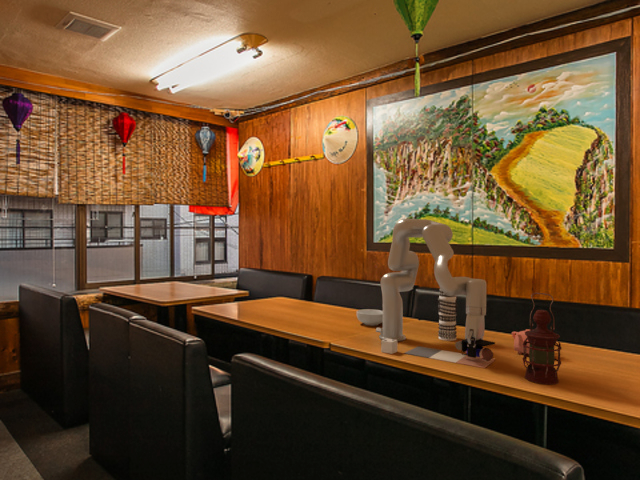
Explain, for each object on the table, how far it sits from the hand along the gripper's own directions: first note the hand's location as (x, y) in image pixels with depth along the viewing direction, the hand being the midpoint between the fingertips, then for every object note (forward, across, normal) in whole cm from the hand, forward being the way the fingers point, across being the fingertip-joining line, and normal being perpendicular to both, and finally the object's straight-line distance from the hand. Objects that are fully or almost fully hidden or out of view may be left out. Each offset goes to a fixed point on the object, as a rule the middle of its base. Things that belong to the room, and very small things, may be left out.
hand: (475, 354), depth 174 cm
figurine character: (+1, 0, 0) cm, 1 cm away
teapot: (+3, -25, +14) cm, 29 cm away
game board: (+3, 0, -11) cm, 11 cm away
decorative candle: (+3, -30, -23) cm, 38 cm away
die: (+3, +8, -34) cm, 35 cm away
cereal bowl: (+3, -37, -69) cm, 78 cm away
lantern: (+3, +8, +25) cm, 27 cm away
